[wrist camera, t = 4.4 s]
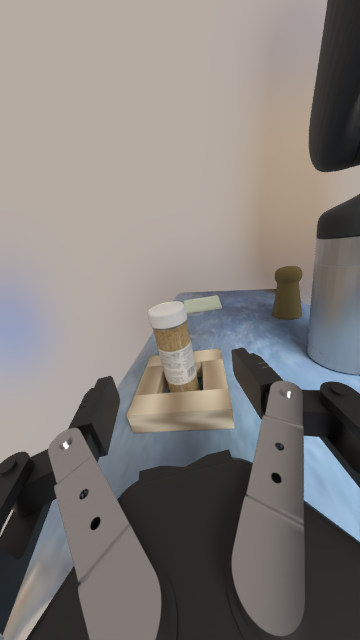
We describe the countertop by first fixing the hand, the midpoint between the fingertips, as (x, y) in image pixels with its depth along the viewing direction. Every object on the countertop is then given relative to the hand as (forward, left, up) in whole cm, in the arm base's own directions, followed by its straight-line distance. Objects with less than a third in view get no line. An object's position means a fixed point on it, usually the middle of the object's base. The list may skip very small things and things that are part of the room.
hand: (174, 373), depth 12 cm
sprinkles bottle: (+2, -11, -12) cm, 17 cm away
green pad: (-1, -49, -12) cm, 51 cm away
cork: (-21, -33, -12) cm, 41 cm away
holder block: (+2, -11, -12) cm, 17 cm away
